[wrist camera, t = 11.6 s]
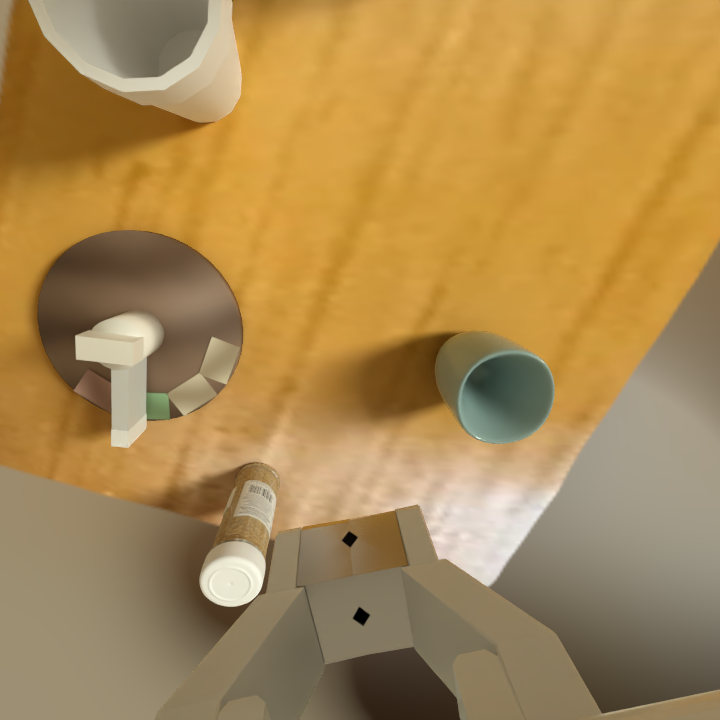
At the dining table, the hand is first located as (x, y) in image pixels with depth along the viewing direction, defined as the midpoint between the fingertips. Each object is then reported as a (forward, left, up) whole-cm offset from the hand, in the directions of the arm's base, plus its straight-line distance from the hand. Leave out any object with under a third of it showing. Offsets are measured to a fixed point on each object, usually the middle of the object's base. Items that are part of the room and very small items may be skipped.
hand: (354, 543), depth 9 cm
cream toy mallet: (+3, -18, -30) cm, 35 cm away
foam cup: (-19, -8, -31) cm, 37 cm away
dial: (0, -17, -31) cm, 35 cm away
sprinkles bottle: (+17, -10, -31) cm, 37 cm away
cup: (+7, +12, -31) cm, 34 cm away
